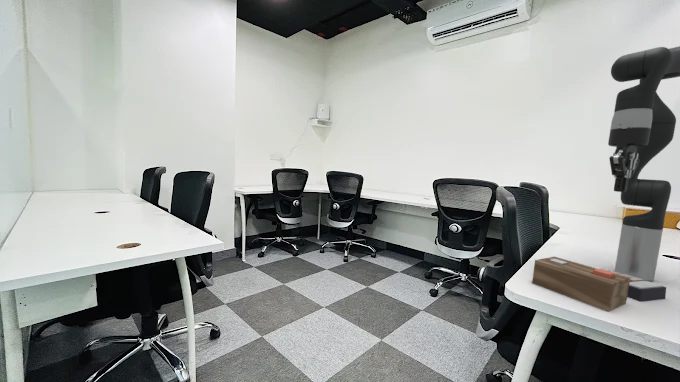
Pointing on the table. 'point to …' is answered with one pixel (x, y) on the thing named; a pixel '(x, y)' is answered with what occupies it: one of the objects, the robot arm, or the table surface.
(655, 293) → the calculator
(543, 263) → the block
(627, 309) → the table surface
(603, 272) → the red plug
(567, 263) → the grey plug
